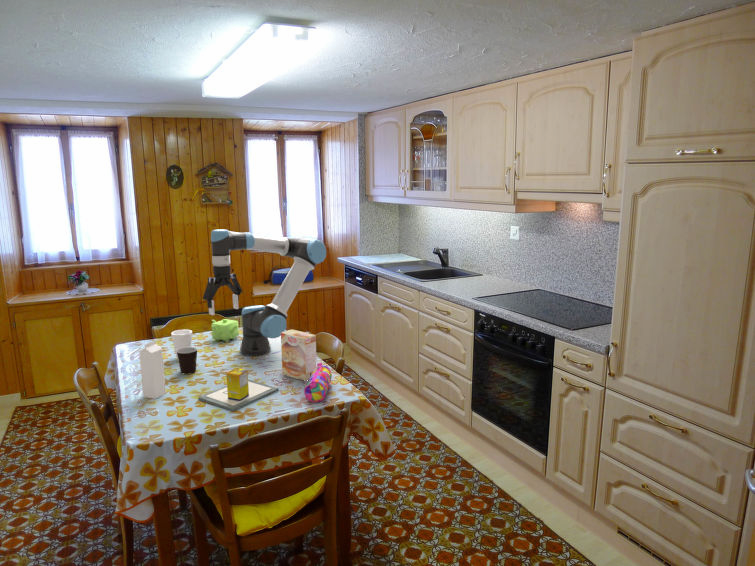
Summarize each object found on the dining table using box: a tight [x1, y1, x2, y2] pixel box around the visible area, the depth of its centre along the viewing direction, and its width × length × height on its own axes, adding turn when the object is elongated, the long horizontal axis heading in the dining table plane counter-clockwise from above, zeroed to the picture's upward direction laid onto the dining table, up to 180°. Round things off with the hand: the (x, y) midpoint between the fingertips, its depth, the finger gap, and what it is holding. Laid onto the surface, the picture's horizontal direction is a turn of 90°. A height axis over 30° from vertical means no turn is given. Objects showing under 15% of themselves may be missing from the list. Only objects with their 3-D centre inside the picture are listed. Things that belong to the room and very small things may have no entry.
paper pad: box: [197, 378, 280, 412], centre depth 211 cm, size 24×20×1 cm
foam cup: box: [170, 329, 193, 360], centre depth 253 cm, size 10×9×13 cm
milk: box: [139, 340, 167, 400], centre depth 208 cm, size 6×6×22 cm
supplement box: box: [225, 367, 249, 401], centre depth 204 cm, size 6×6×11 cm
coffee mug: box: [177, 346, 198, 375], centre depth 237 cm, size 12×9×10 cm
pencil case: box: [303, 362, 333, 403], centre depth 212 cm, size 22×9×9 cm, turn 1°
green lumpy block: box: [211, 318, 240, 343], centre depth 284 cm, size 15×14×11 cm
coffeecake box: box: [280, 329, 317, 382], centre depth 229 cm, size 15×7×20 cm, turn 53°
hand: (224, 311), depth 236 cm, fingers open, 13 cm apart
